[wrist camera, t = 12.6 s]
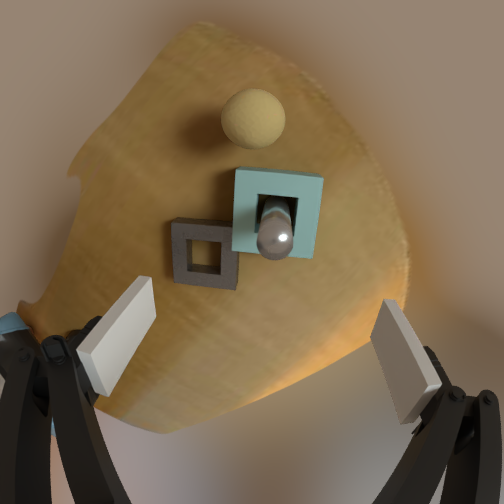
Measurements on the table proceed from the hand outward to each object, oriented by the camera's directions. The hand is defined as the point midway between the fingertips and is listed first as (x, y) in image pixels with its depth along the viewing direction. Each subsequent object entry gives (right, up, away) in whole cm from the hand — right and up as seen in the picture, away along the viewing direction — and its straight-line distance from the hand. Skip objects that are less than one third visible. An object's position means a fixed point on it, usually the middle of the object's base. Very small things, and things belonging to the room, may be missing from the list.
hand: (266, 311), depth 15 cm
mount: (-7, +3, +24) cm, 26 cm away
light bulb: (0, +19, +17) cm, 26 cm away
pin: (+2, +9, +21) cm, 23 cm away
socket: (+2, +9, +21) cm, 23 cm away
